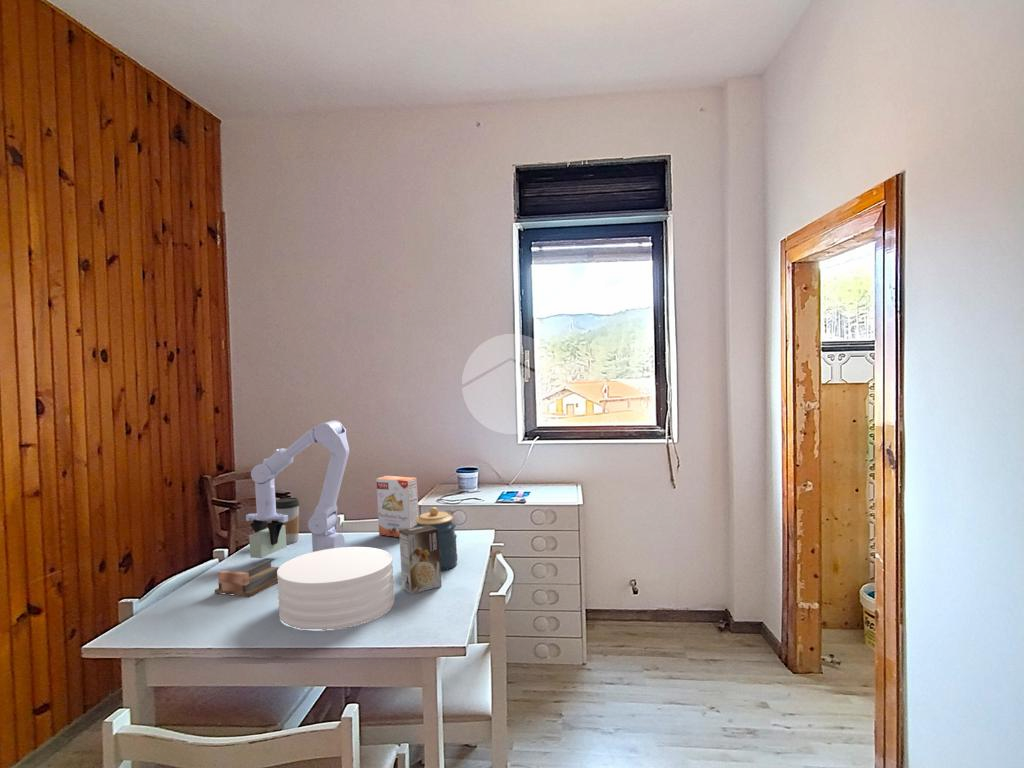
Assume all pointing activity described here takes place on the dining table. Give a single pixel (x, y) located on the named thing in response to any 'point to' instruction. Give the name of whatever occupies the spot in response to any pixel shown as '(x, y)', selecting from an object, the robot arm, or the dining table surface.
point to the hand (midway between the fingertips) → (268, 543)
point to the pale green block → (265, 543)
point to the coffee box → (420, 558)
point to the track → (247, 580)
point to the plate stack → (335, 587)
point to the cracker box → (396, 504)
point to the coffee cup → (289, 517)
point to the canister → (442, 535)
